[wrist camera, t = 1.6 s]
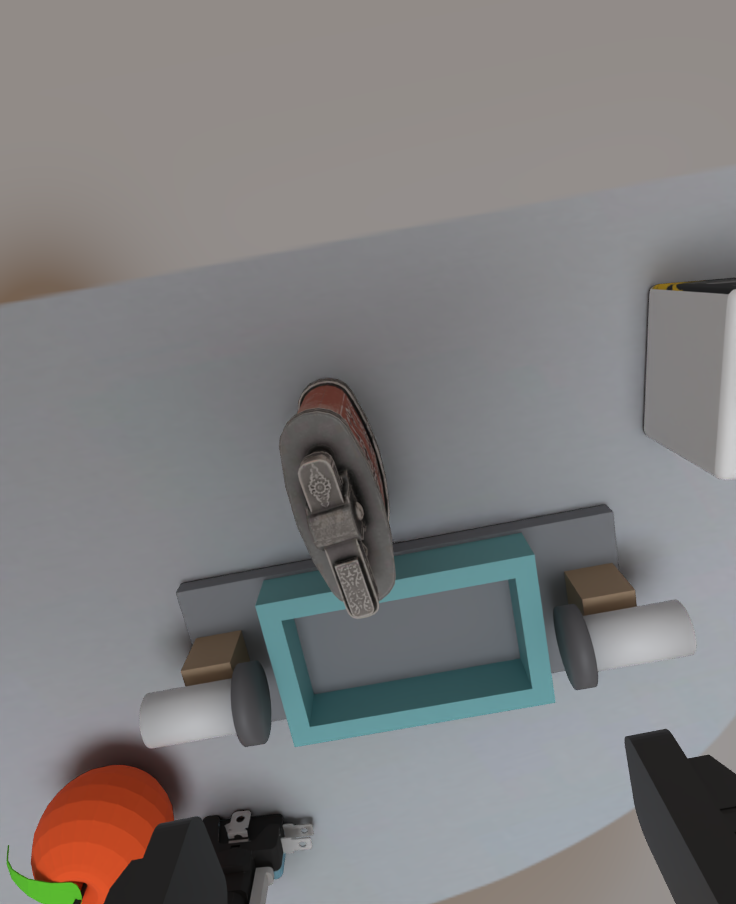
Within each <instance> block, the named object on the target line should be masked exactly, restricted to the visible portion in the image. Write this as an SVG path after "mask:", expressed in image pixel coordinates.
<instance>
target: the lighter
mask: <svg viewBox="0 0 736 904" xmlns="http://www.w3.org/2000/svg"><path fill="white" fill-rule="evenodd" d="M279 450H280V456H281V462H282V468H283V474H284V481H285V487H286V490H287V494H288V497H289V501H290V504H291V508H292V511H293V514H294V518H295V521H296V525H297V527H298V530H299V532H300V534H301V536H302V538H303V540H304V543H305V545H306V547H307V549H308V551H309V554H310V556H311V558H312V560H313V562H314V564H315V565H316V567H317V569H318V570H319V572H320V573H321V575H322V577H323V578H324V580H325V582H326V583H327V585H328V586H329V588H330V590H331V591H332V593H333V594H334V595H335V596H336V597H337V598H338V599H339V600H340V601H342V602H344V605H345V607H346V610H347V612H348V614H349V615H350V616H351V617H352V618H356V619H361V618H366V617H369V616H372V615H374V614H375V613H376V612H377V611H378V609H379V601H380V600H382V599H383V598H385V597H386V596H387V595H388V594H389V593H390V592H391V590H392V588H393V587H394V585H395V578H396V572H395V562H394V553H393V545H392V536H391V529H390V525H389V517H390V508H389V499H388V491H387V482H386V476H385V471H384V467H383V463H382V459H381V455H380V451H379V447H378V445H377V442H376V440H375V437H374V435H373V432H372V430H371V427H370V425H369V422H368V420H367V417H366V416H365V414H364V412H363V410H362V408H361V407H360V405H359V403H358V401H357V399H356V398H355V396H354V394H353V392H352V390H351V389H350V388H349V387H348V386H347V384H346V383H344V382H342V381H340V380H338V379H332V378H325V379H319V380H317V381H315V382H313V383H311V384H310V385H309V386H308V387H307V388H306V389H305V390H304V391H303V393H302V395H301V397H300V399H299V401H298V413H297V414H296V415H294V416H293V417H292V418H291V419H290V420H289V421H288V422H287V424H286V426H285V428H284V430H283V432H282V434H281V436H280V442H279Z"/></svg>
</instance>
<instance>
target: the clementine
mask: <svg viewBox="0 0 736 904" xmlns="http://www.w3.org/2000/svg"><path fill="white" fill-rule="evenodd" d="M170 821H174V816H173V809H172V804H171V802H170V800H169V797H168V795H167V793H166V792H165V791H164V789H163V788H162V786H161V785H160V784H159V783H158V781H157V780H156V779H155V778H154V777H152V776H151V775H150V774H148V773H147V772H145V771H143V770H140V769H138V768H136V767H132V766H127V765H110V766H105V767H101V768H96V769H92V770H90V771H88V772H86V773H84V774H82V775H80V776H78V777H77V778H75V779H74V780H72V781H71V782H70V783H68V784H67V785H66V786H65V787H64V788H63V789H62V790H61V791H60V792H58V793H57V795H56V796H55V797H54V798H53V800H52V801H51V802H50V803H49V805H48V806H47V808H46V810H45V811H44V813H43V815H42V817H41V819H40V821H39V824H38V826H37V829H36V831H35V833H34V839H33V846H32V856H31V866H32V871H33V876H34V879H35V880H33V879H28V878H26V877H24V876H22V875H21V874H19V873H18V872H16V871H15V870H13V869H12V867H11V865H10V863H9V861H8V853H9V845H8V850H7V867H8V869H9V872H10V875H11V878H12V880H13V881H14V882H15V883H16V884H17V886H18V887H19V888H20V889H21V890H22V891H23V892H24V893H26V894H27V895H28V896H29V897H31V898H33V899H35V900H36V901H38V902H40V903H43V904H103V903H104V901H105V899H106V896H107V894H108V892H109V889H110V888H111V886H112V885H113V884H114V882H115V881H116V880H117V879H118V877H119V876H120V875H121V873H122V872H123V871H124V869H125V868H126V867H127V866H128V864H129V863H130V862H131V860H136V859H141V858H143V856H144V854H145V851H146V849H147V846H148V844H149V841H150V838H151V836H152V833H153V831H154V829H155V828H156V826H157V825H158V824H160V823H165V822H170Z"/></svg>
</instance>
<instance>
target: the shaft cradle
mask: <svg viewBox="0 0 736 904" xmlns="http://www.w3.org/2000/svg"><path fill="white" fill-rule="evenodd" d="M392 545H393V553H394V562H395V572H396V578H395V585H394V587H393V588H392V590H391V592H390V593H389V594H388V595H387V596H386V597H385V598H383V599H382V600H380V601H379V609H378V611H377V612H376V613H375V614H374V615H372V616H369V617H366V618H361V619H356V618H352V617H351V616H350V615H349V614H348V612H347V610H346V607H345V605H344V602H342V601H340V600H339V599H338V598H337V597H336V596H335V595H334V594H333V593H332V591H331V590H330V588H329V586H328V585H327V583H326V582H325V580H324V578H323V577H322V575H321V573H320V572H319V570H318V569H317V567H316V565H315V564H314V562H313V560H312V559H311V560H305V561H300V562H295V563H289V564H284V565H279V566H273V567H268V568H262V569H257V570H252V571H246V572H241V573H236V574H230V575H225V576H220V577H214V578H209V579H203V580H198V581H193V582H187V583H182V584H181V585H180V587H179V588H178V590H177V592H176V596H177V599H178V602H179V605H180V608H181V611H182V614H183V618H184V621H185V624H186V627H187V630H188V633H189V637H190V640H191V643H192V648H191V650H190V652H189V655H188V657H187V659H186V661H185V663H184V665H183V667H182V670H181V674H182V677H183V680H184V683H185V686H186V687H180V688H174V689H169V690H163V691H157V692H152V693H148V694H146V695H145V697H144V698H143V701H142V703H141V708H140V716H139V724H140V732H141V736H142V739H143V741H144V743H145V745H146V746H147V747H148V748H150V749H152V748H158V747H164V746H169V745H175V744H181V743H187V742H193V741H198V740H204V739H210V738H216V737H221V736H227V735H233V734H237V736H238V739H239V741H240V742H241V744H242V745H243V746H245V747H248V746H254V745H260V744H265V743H266V742H267V741H268V738H269V735H270V730H271V722H272V721H278V720H284V719H287V721H288V725H289V728H290V732H291V736H292V739H293V743H294V746H295V747H298V746H304V745H310V744H316V743H322V742H328V741H334V740H339V739H345V738H351V737H357V736H363V735H369V734H375V733H380V732H386V731H392V730H398V729H404V728H410V727H416V726H422V725H427V724H433V723H439V722H445V721H451V720H457V719H463V718H468V717H474V716H480V715H486V714H492V713H498V712H504V711H509V710H515V709H521V708H527V707H533V706H539V705H545V704H550V703H555V696H554V689H553V682H552V675H551V673H555V672H561V671H566V673H567V676H568V678H569V681H570V683H571V684H572V686H573V688H574V689H575V690H581V689H587V688H593V687H596V686H597V684H598V671H604V670H610V669H615V668H621V667H627V666H633V665H639V664H644V663H650V662H656V661H662V660H668V659H673V658H679V657H685V656H691V655H694V654H695V652H696V646H697V644H696V635H695V631H694V627H693V624H692V621H691V619H690V617H689V615H688V613H687V611H686V609H685V608H684V606H683V605H682V604H681V603H680V602H679V601H678V600H670V601H665V602H659V603H653V604H648V605H642V606H637V605H636V595H635V589H634V588H633V587H632V586H631V585H630V583H629V582H628V581H627V580H626V579H625V577H624V576H623V575H622V574H621V573H620V571H619V564H618V554H617V544H616V534H615V525H614V515H613V511H612V510H611V509H610V508H609V507H608V506H607V505H600V506H595V507H590V508H584V509H579V510H574V511H568V512H563V513H558V514H552V515H547V516H541V517H536V518H531V519H525V520H520V521H515V522H509V523H504V524H499V525H493V526H488V527H482V528H477V529H472V530H466V531H461V532H456V533H450V534H445V535H440V536H434V537H429V538H423V539H418V540H413V541H407V542H402V543H397V544H392Z"/></svg>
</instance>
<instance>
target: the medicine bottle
mask: <svg viewBox="0 0 736 904" xmlns="http://www.w3.org/2000/svg"><path fill="white" fill-rule="evenodd" d="M644 432H645V434H646V435H647V436H648V437H649V438H651V439H653V440H654V441H656V442H658V443H659V444H661V445H663V446H664V447H666V448H668V449H670V450H671V451H673V452H675V453H676V454H678V455H680V456H681V457H683V458H685V459H686V460H688V461H690V462H691V463H693V464H695V465H696V466H698V467H700V468H701V469H703V470H705V471H706V472H708V473H710V474H712V475H713V476H715V477H717V478H718V479H723V480H733V479H736V278H727V279H715V280H703V281H691V282H679V283H666V284H658V285H655V286H653V287H652V288H651V289H650V293H649V314H648V339H647V365H646V390H645V415H644Z"/></svg>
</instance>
